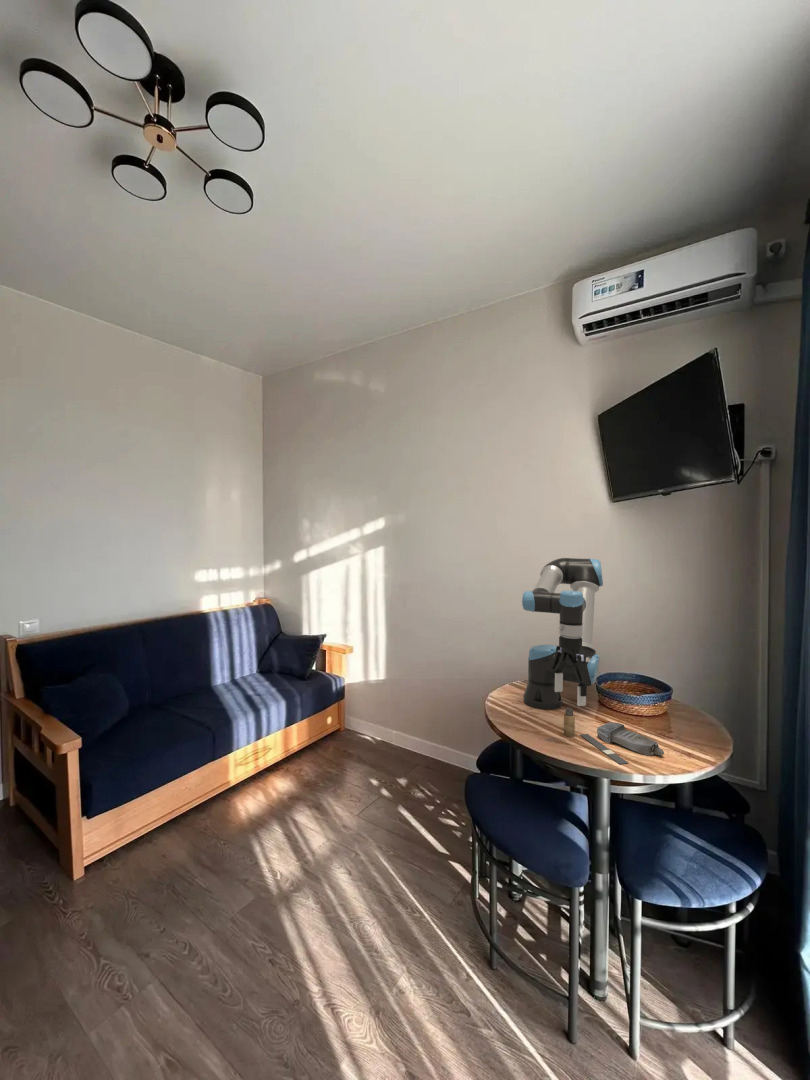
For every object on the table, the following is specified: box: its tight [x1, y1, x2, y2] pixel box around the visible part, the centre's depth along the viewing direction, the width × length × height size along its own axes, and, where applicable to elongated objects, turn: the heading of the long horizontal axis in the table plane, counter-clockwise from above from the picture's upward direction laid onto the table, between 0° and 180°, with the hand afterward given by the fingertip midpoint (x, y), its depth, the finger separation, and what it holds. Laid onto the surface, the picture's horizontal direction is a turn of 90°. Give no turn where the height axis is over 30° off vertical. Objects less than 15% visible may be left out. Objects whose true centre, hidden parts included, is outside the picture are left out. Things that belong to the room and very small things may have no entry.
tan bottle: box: [563, 707, 576, 738], centre depth 154 cm, size 4×4×9 cm
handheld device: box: [596, 721, 665, 757], centre depth 146 cm, size 10×20×5 cm, turn 38°
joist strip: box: [579, 733, 629, 765], centre depth 144 cm, size 20×3×1 cm, turn 13°
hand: (569, 698), depth 153 cm, fingers open, 13 cm apart
